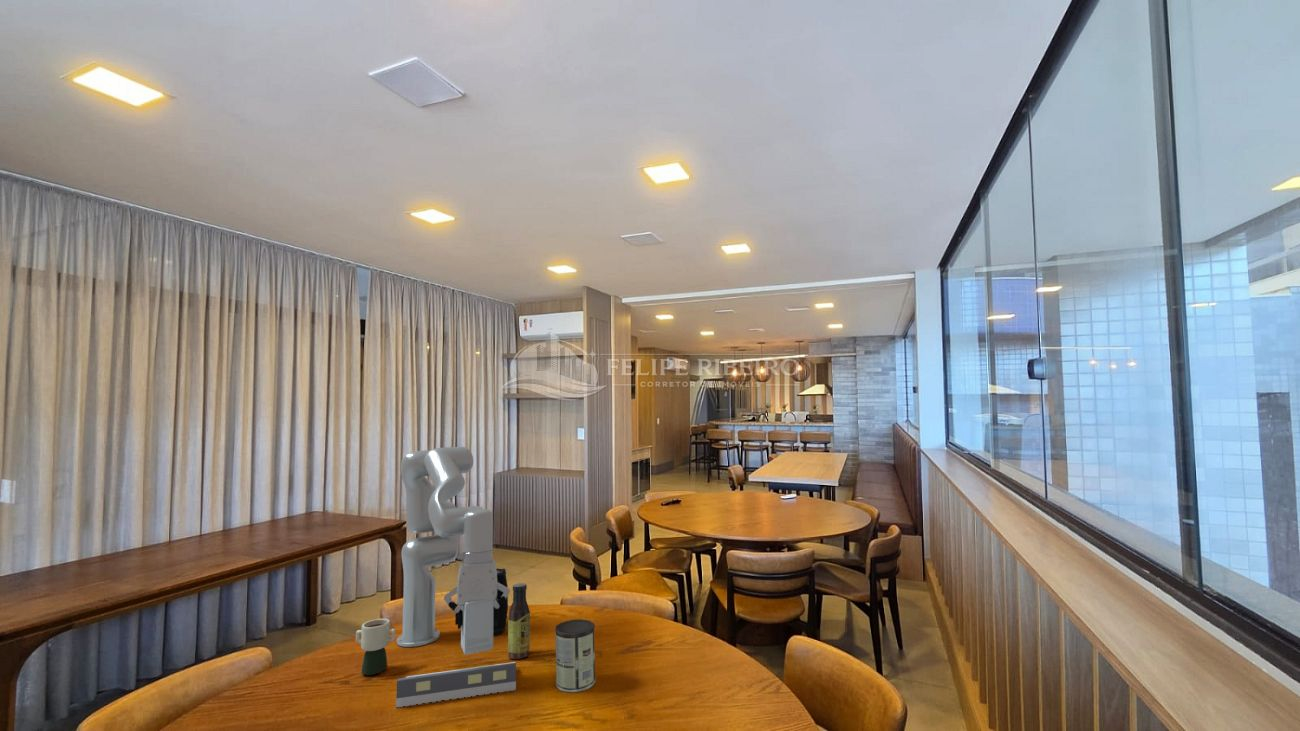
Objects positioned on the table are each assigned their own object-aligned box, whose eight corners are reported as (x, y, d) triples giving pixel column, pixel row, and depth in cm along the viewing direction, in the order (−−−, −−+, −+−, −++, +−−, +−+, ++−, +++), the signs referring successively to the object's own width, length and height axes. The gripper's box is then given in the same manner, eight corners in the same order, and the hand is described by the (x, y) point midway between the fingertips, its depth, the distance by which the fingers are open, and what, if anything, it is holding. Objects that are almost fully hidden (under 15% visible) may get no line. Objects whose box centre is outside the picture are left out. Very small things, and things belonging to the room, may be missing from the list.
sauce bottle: (524, 661, 150) (524, 588, 152) (503, 659, 151) (504, 588, 153) (533, 651, 156) (533, 582, 158) (514, 650, 157) (514, 581, 160)
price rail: (397, 696, 128) (397, 678, 128) (515, 679, 135) (515, 662, 135) (396, 698, 126) (396, 681, 127) (515, 681, 133) (515, 664, 134)
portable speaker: (480, 628, 176) (481, 567, 178) (509, 626, 177) (509, 566, 180) (476, 638, 168) (476, 574, 170) (506, 635, 169) (506, 572, 171)
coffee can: (567, 671, 142) (566, 617, 144) (601, 676, 139) (600, 620, 141) (547, 689, 133) (547, 631, 134) (584, 695, 129) (583, 635, 131)
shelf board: (405, 684, 138) (405, 675, 138) (515, 669, 145) (515, 661, 145) (395, 707, 126) (396, 697, 126) (515, 689, 133) (515, 680, 133)
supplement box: (493, 649, 137) (494, 598, 138) (463, 655, 133) (464, 603, 135) (489, 640, 143) (489, 591, 145) (460, 645, 140) (461, 596, 141)
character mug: (400, 665, 149) (401, 617, 151) (388, 677, 142) (389, 626, 144) (361, 666, 149) (363, 619, 150) (347, 678, 142) (349, 628, 143)
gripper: (441, 563, 135) (440, 634, 133) (511, 557, 140) (511, 626, 138) (445, 556, 143) (444, 624, 140) (511, 551, 147) (511, 616, 145)
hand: (477, 624), depth 139 cm, fingers closed on supplement box, 8 cm apart
